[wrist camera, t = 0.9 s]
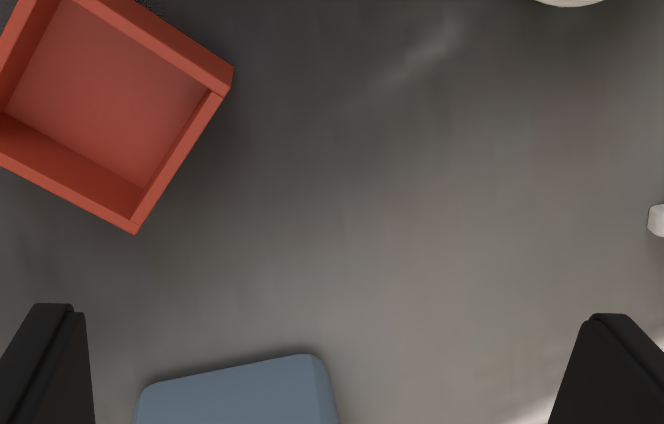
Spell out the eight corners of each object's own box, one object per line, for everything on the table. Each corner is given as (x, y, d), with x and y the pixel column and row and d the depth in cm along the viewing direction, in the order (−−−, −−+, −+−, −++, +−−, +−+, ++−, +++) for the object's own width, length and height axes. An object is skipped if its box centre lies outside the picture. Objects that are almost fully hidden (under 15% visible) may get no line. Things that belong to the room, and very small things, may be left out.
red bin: (69, -43, 35) (37, -39, 30) (235, 67, 39) (231, 87, 34) (-10, 112, 38) (-51, 139, 33) (149, 199, 42) (134, 235, 37)
